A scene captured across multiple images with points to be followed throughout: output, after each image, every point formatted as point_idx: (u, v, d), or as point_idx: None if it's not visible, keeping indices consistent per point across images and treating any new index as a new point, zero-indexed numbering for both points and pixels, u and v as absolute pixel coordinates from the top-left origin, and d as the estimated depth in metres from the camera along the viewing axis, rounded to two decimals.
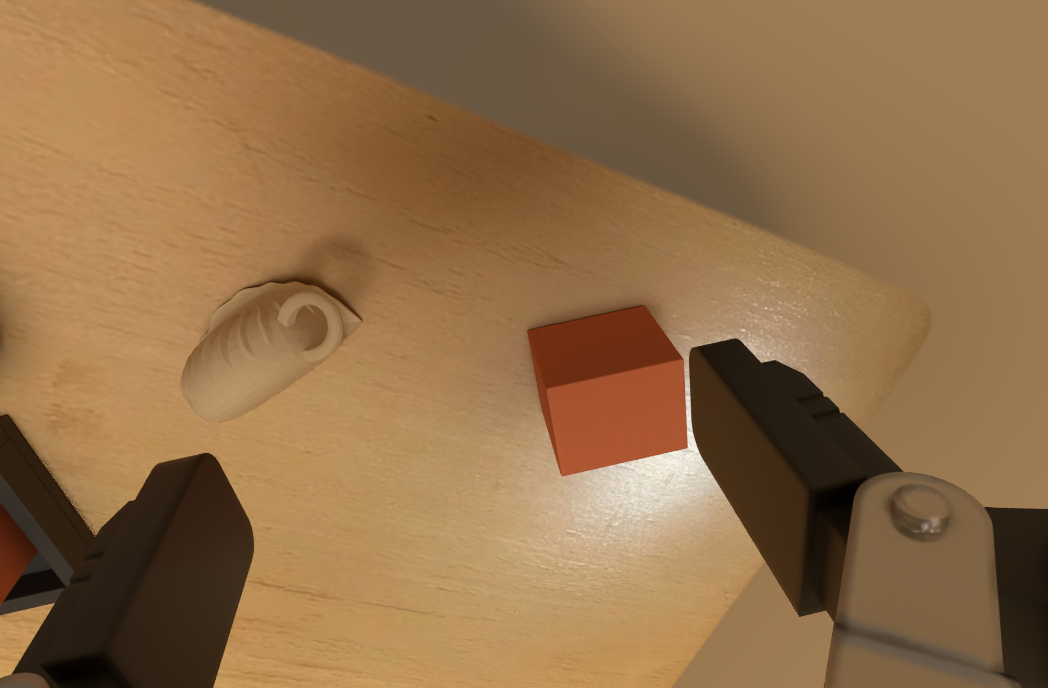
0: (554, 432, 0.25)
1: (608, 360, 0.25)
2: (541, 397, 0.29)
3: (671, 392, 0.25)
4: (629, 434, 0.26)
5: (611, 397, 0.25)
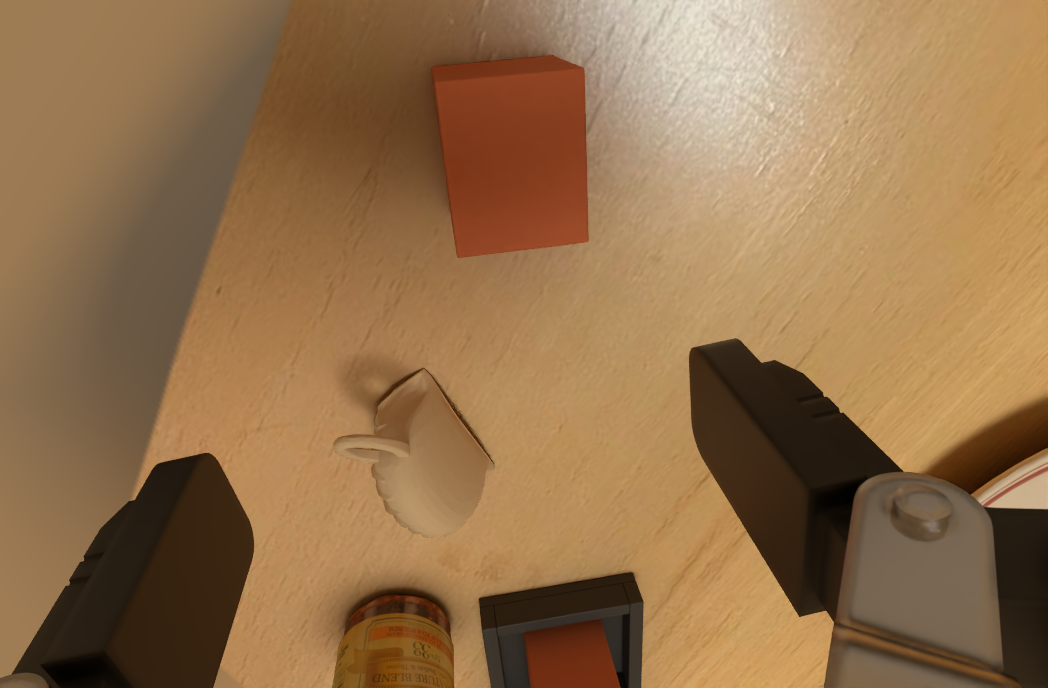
0: (520, 249, 0.21)
1: None
2: None
3: (484, 97, 0.19)
4: (541, 155, 0.20)
5: (480, 180, 0.20)
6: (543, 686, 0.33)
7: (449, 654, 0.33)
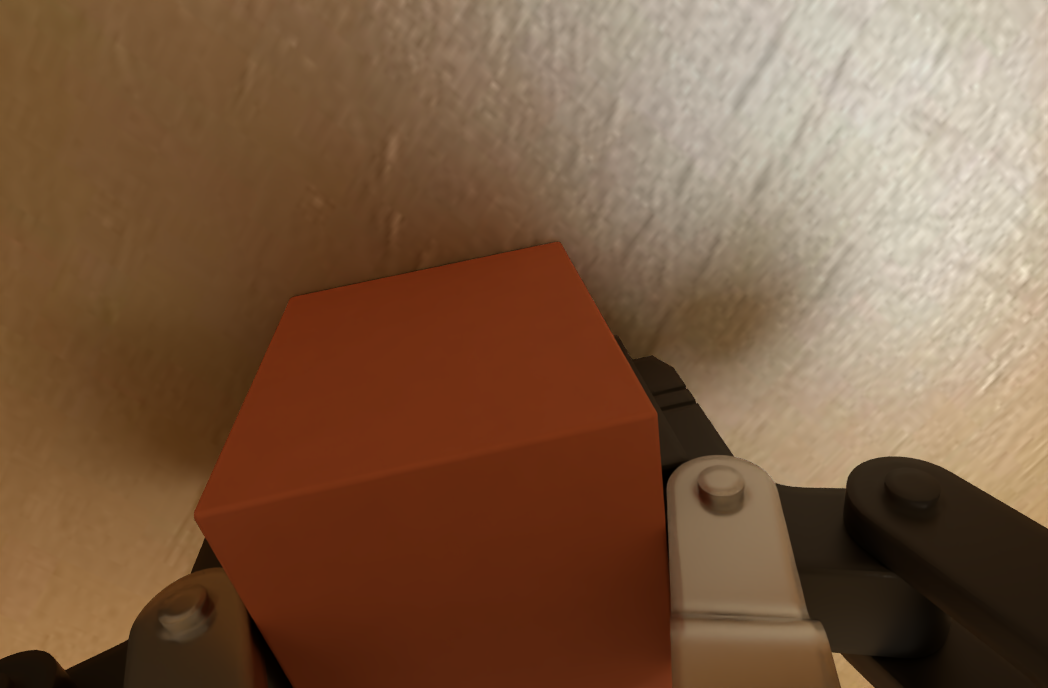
0: None
1: None
2: None
3: (359, 525, 0.06)
4: (547, 610, 0.07)
5: (387, 682, 0.07)
6: None
7: None
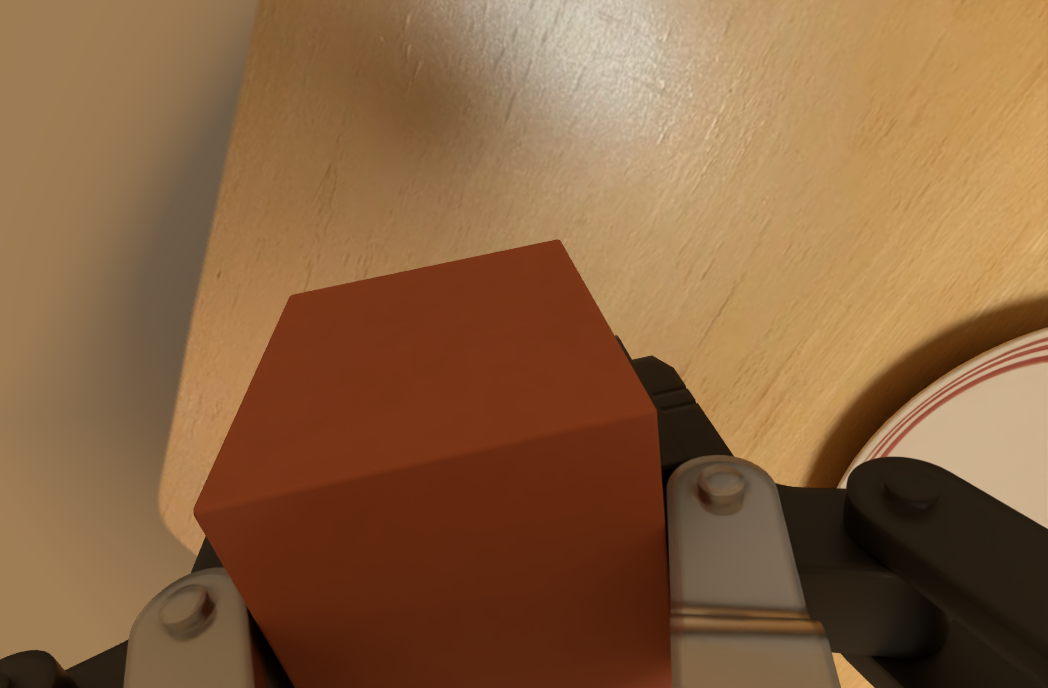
0: None
1: None
2: None
3: (359, 522, 0.06)
4: (547, 607, 0.07)
5: (387, 678, 0.07)
6: None
7: None
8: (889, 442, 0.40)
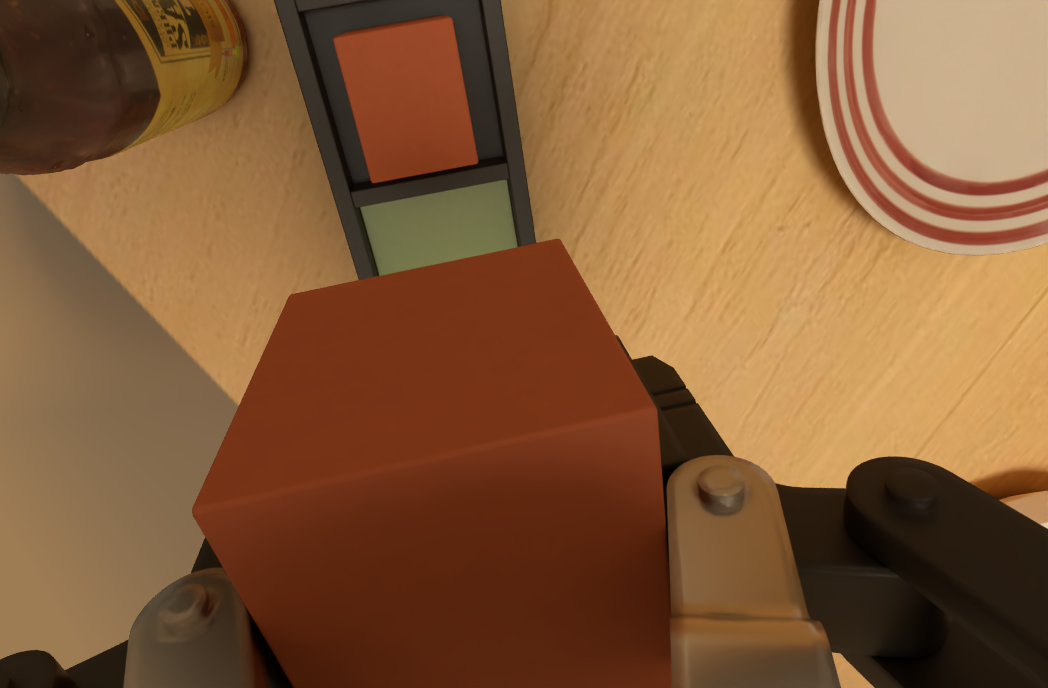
0: None
1: None
2: None
3: (358, 522, 0.06)
4: (547, 608, 0.07)
5: (386, 679, 0.07)
6: (349, 34, 0.24)
7: (220, 6, 0.24)
8: None
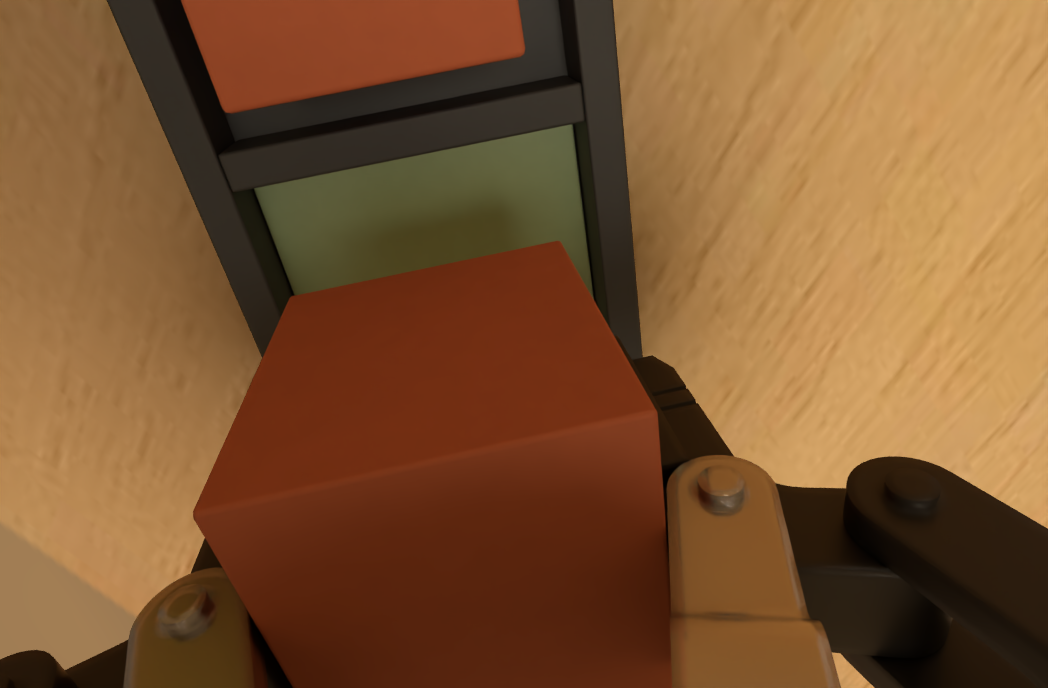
0: None
1: None
2: None
3: (359, 525, 0.06)
4: (547, 610, 0.07)
5: (387, 682, 0.07)
6: None
7: None
8: None
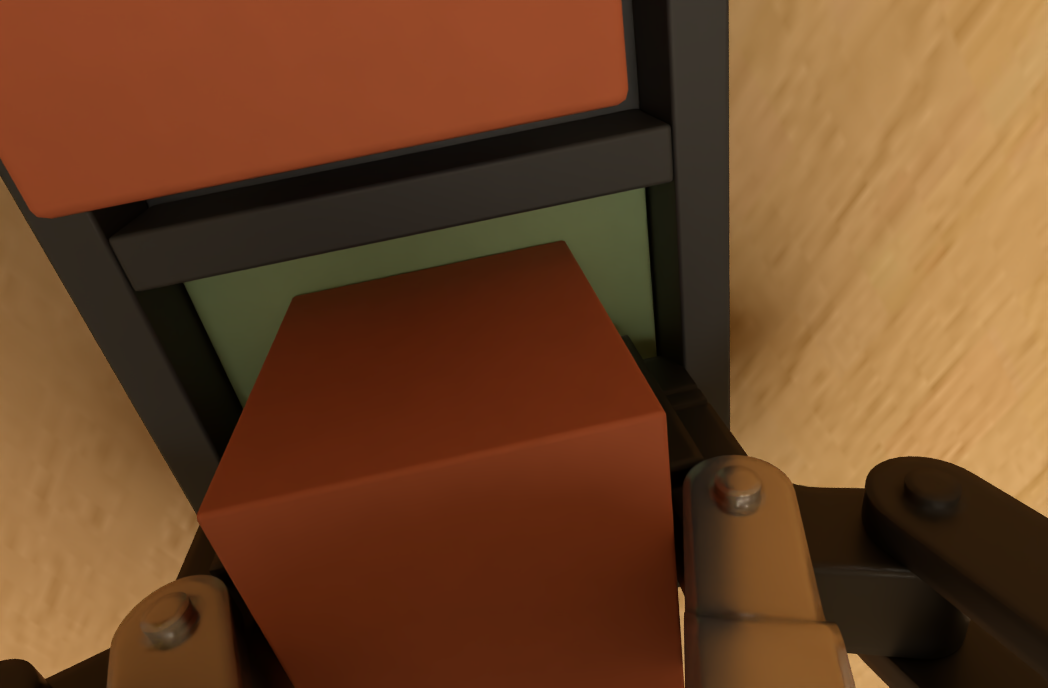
0: None
1: None
2: None
3: (365, 526, 0.06)
4: (554, 612, 0.07)
5: (392, 686, 0.07)
6: None
7: None
8: None
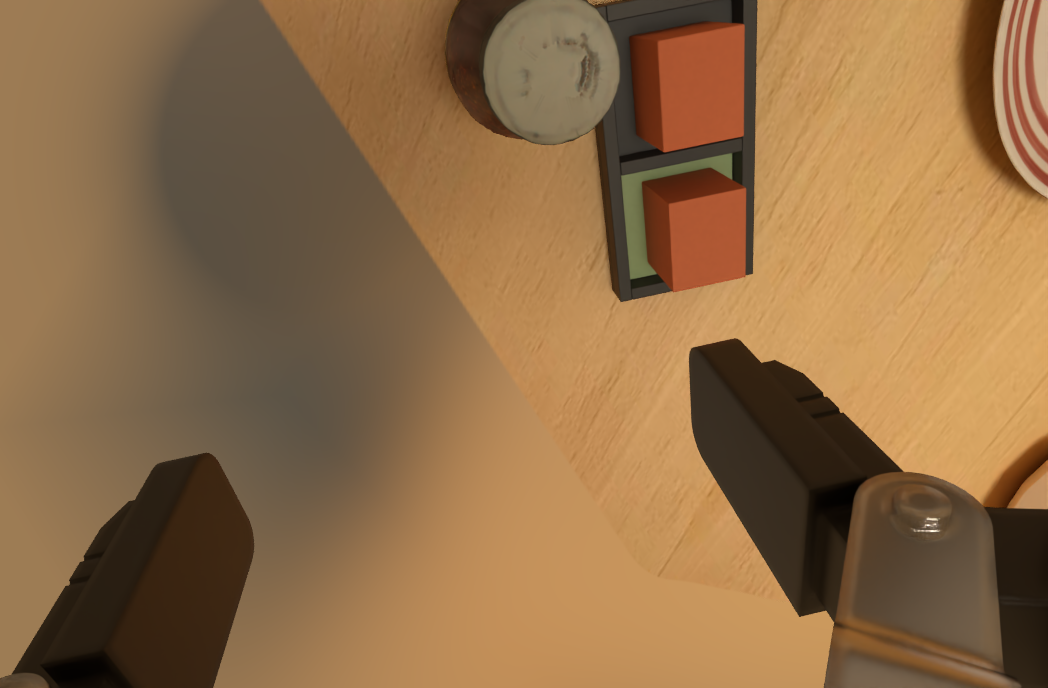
0: (707, 284, 0.38)
1: (664, 243, 0.37)
2: None
3: (694, 208, 0.35)
4: (722, 233, 0.36)
5: (688, 250, 0.36)
6: (662, 38, 0.32)
7: None
8: None
